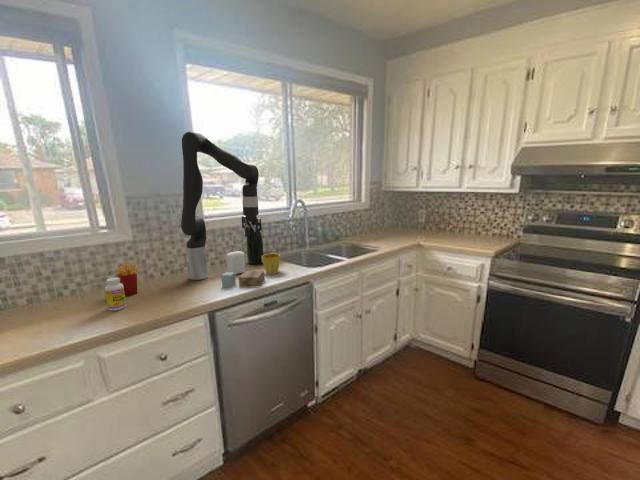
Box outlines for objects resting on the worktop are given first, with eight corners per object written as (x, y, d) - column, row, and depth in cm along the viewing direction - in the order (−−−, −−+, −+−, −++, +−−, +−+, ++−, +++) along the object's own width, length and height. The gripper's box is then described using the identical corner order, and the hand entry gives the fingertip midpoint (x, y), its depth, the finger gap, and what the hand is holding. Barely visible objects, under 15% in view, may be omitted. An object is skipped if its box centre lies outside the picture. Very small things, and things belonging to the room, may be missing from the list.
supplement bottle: (113, 312, 132) (108, 282, 130) (105, 309, 136) (100, 280, 133) (129, 306, 138) (125, 277, 135) (121, 303, 141) (117, 275, 139)
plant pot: (279, 275, 175) (278, 257, 173) (260, 275, 176) (259, 258, 174) (282, 269, 186) (281, 253, 184) (264, 270, 186) (263, 253, 184)
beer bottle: (244, 264, 199) (240, 211, 193) (252, 260, 209) (249, 209, 202) (259, 265, 196) (256, 211, 189) (267, 260, 206) (264, 209, 199)
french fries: (124, 297, 149) (119, 266, 146) (118, 293, 154) (113, 263, 151) (144, 292, 155) (140, 261, 152) (138, 288, 161) (134, 259, 158)
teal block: (222, 286, 159) (221, 275, 158) (226, 283, 164) (225, 272, 163) (232, 286, 159) (231, 275, 158) (235, 283, 164) (234, 272, 163)
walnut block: (239, 286, 159) (238, 277, 158) (246, 280, 169) (245, 271, 168) (259, 287, 158) (258, 277, 157) (264, 280, 168) (264, 271, 167)
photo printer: (244, 270, 186) (242, 249, 183) (246, 272, 182) (245, 251, 180) (226, 273, 180) (224, 252, 178) (228, 275, 177) (226, 253, 174)
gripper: (236, 205, 162) (238, 236, 165) (252, 207, 152) (253, 241, 155) (249, 204, 167) (250, 234, 170) (265, 206, 157) (266, 238, 160)
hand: (252, 237), depth 163 cm, fingers open, 8 cm apart
